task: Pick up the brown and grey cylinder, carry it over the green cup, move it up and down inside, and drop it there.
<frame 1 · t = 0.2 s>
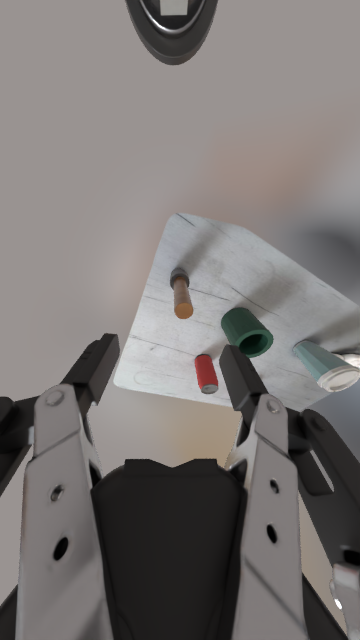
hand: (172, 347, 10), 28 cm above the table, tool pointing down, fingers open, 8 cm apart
figure: (345, 356, 56), on the table
brown and grey cylinder: (179, 276, 35), on the table
green cup: (236, 321, 43), on the table
disposable coffee cup: (302, 346, 52), on the table
beer can: (202, 359, 53), on the table
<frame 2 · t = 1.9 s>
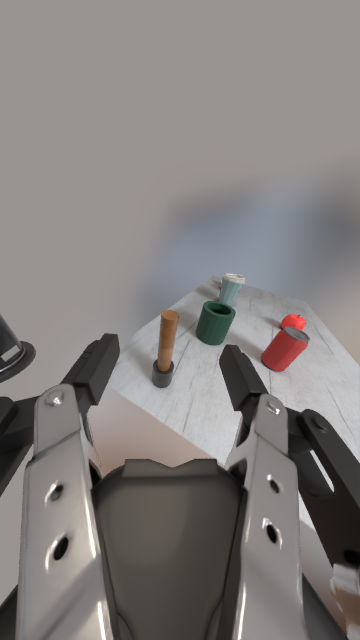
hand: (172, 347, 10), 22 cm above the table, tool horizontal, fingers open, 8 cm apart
apple: (287, 330, 59), on the table
brown and grey cylinder: (161, 378, 32), on the table
green cup: (209, 335, 48), on the table
disposable coffee cup: (224, 303, 72), on the table
beer can: (271, 363, 41), on the table
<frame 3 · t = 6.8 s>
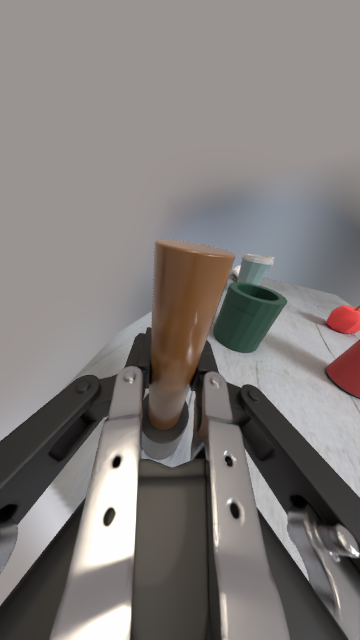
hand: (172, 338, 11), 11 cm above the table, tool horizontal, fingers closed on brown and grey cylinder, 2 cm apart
figure: (239, 280, 74), on the table
apple: (336, 329, 42), on the table
brown and grey cylinder: (160, 431, 15), on the table, touching gripper
green cup: (234, 336, 31), on the table
disposable coffee cup: (242, 294, 56), on the table
beer can: (346, 383, 24), on the table
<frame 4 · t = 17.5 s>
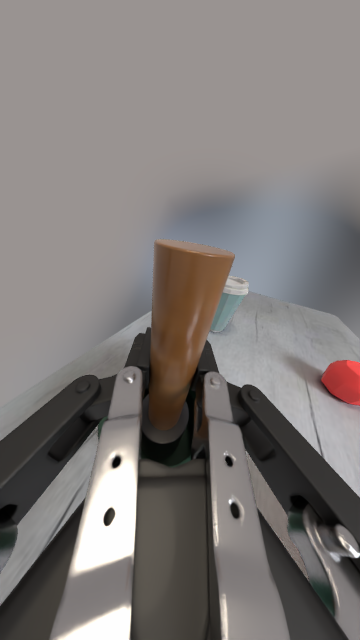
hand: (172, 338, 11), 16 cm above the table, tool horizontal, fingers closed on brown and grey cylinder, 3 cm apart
apple: (336, 391, 29), on the table
brown and grey cylinder: (160, 431, 15), point 5 cm above the table, touching gripper
green cup: (157, 444, 18), on the table
disposable coffee cup: (212, 326, 42), on the table
when the fingers open (16 cm above the table, at t = 28.1 s): brown and grey cylinder drops 4 cm, resting on green cup.
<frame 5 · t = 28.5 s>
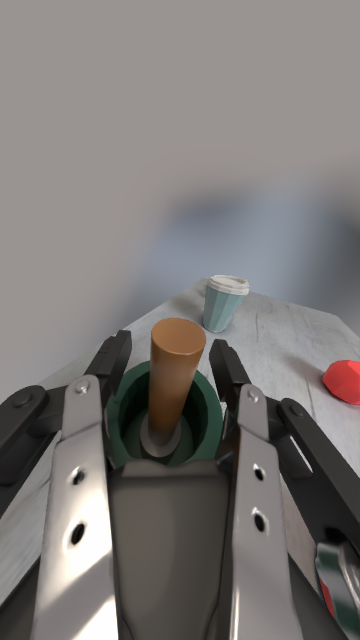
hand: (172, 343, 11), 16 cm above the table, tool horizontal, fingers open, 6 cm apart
apple: (337, 391, 29), on the table
brown and grey cylinder: (158, 442, 17), point 1 cm above the table, touching green cup
green cup: (158, 444, 17), on the table
disposable coffee cup: (212, 326, 42), on the table
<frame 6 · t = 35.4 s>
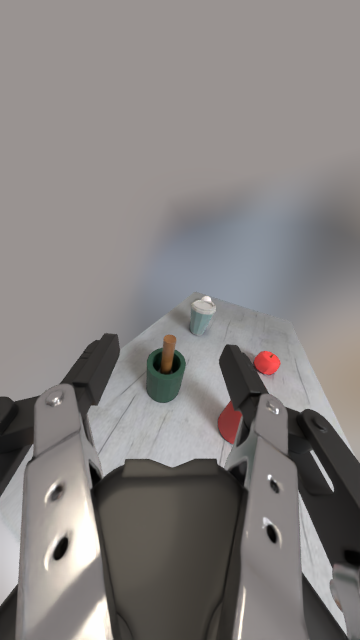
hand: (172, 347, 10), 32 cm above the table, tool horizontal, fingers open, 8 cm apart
figure: (204, 310, 84), on the table
apple: (261, 368, 52), on the table
brown and grey cylinder: (163, 383, 40), point 1 cm above the table, touching green cup
green cup: (163, 385, 41), on the table
disposable coffee cup: (196, 331, 65), on the table
beer can: (229, 428, 34), on the table
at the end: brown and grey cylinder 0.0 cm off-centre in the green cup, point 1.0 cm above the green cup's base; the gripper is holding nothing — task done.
